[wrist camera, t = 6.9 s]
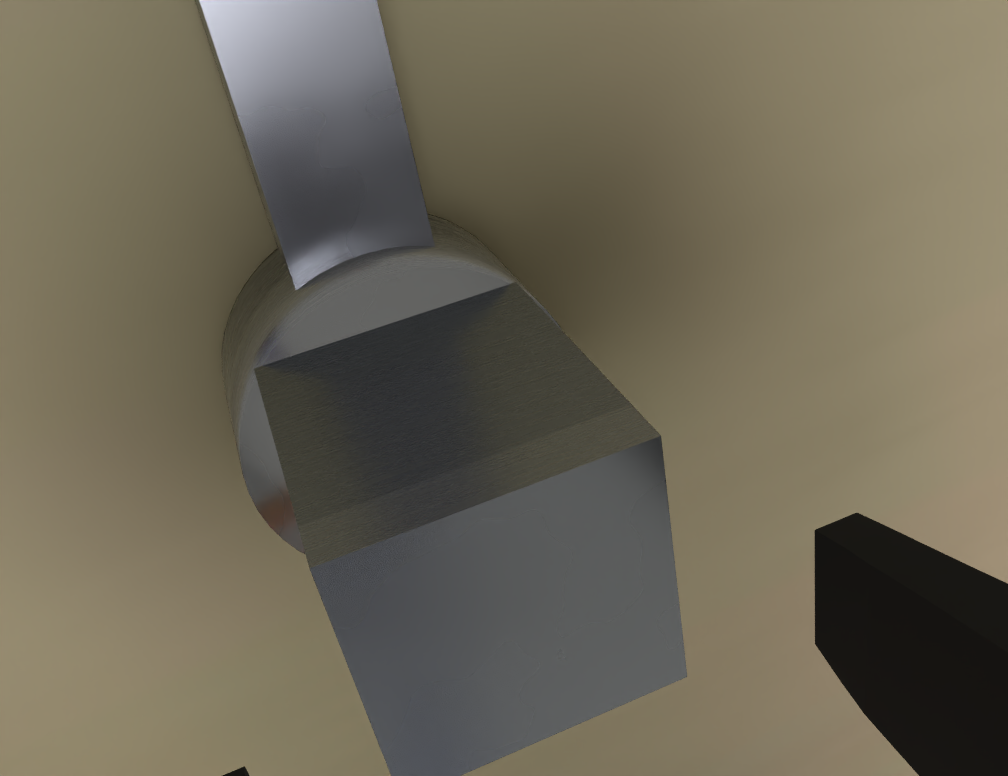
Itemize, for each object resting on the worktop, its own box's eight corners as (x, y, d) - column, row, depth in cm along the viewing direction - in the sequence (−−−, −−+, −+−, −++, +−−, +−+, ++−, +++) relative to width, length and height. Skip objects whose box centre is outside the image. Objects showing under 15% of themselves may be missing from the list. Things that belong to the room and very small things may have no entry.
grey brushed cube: (555, 488, 18) (687, 676, 14) (331, 573, 17) (401, 800, 13) (516, 281, 16) (660, 435, 12) (253, 368, 15) (309, 568, 11)
